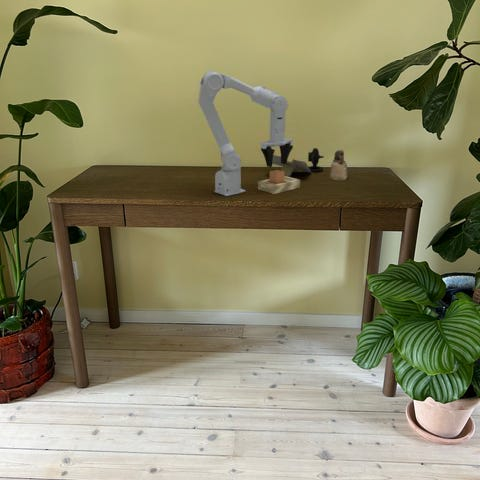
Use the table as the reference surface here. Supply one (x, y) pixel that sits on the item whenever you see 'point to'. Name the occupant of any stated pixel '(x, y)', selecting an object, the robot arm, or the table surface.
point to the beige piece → (279, 185)
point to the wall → (291, 166)
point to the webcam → (314, 160)
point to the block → (276, 177)
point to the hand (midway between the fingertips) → (276, 165)
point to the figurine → (338, 167)
